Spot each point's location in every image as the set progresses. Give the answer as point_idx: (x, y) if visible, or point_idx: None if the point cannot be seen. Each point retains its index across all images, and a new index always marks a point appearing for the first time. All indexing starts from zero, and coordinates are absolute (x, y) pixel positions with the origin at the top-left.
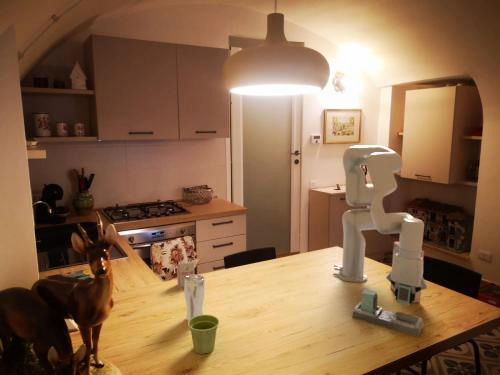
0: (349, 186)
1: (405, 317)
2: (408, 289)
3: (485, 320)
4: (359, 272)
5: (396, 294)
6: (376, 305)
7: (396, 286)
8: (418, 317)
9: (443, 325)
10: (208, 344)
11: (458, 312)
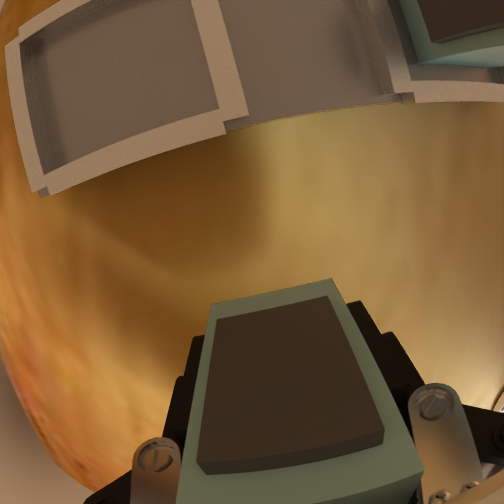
0: None
1: (154, 125)
2: (210, 473)
3: (39, 436)
4: None
5: (378, 336)
6: (434, 20)
7: (437, 422)
8: (50, 181)
9: (42, 315)
10: None
11: (110, 449)
